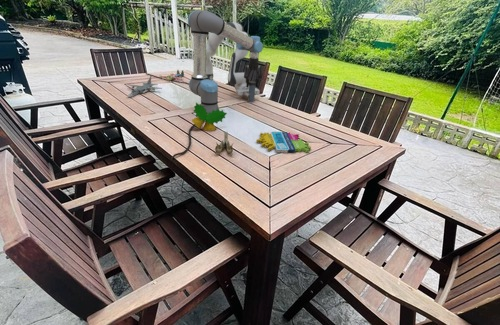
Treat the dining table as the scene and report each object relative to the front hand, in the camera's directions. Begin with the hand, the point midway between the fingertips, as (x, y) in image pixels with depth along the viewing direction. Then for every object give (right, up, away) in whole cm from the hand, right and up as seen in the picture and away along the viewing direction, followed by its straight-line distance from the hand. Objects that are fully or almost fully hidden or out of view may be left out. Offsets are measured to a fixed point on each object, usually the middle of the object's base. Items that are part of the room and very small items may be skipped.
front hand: (252, 86), depth 217 cm
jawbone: (-15, -57, -79) cm, 98 cm away
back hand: (0, -6, +2) cm, 6 cm away
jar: (-1, -11, +6) cm, 12 cm away
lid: (0, +3, -2) cm, 4 cm away
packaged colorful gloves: (+17, -52, -65) cm, 85 cm away
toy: (-83, +27, +63) cm, 107 cm away
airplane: (-95, -2, +10) cm, 95 cm away
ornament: (-27, -42, -53) cm, 72 cm away
